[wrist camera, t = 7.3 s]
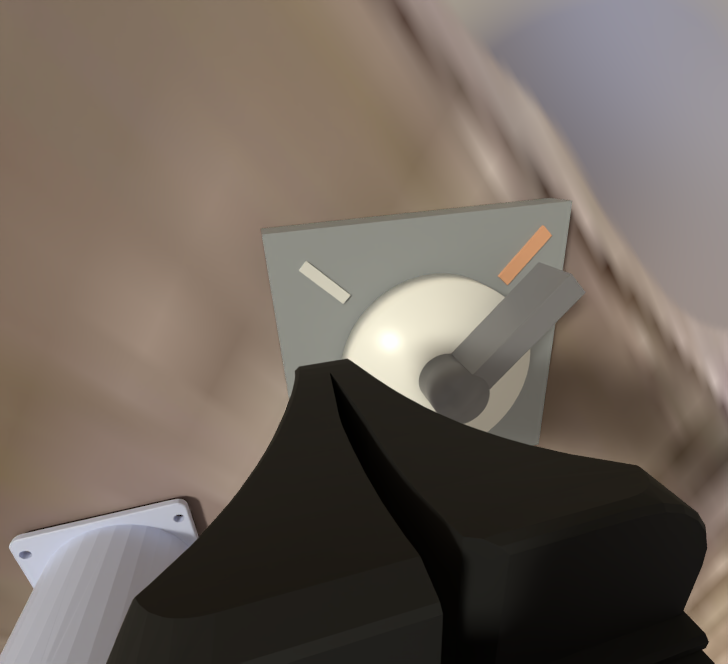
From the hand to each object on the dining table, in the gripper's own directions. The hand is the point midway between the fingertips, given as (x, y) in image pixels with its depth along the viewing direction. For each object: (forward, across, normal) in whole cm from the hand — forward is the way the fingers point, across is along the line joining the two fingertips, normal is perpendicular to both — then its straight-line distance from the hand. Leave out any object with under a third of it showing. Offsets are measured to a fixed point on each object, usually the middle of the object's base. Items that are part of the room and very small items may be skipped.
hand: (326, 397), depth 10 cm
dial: (+8, -6, +4) cm, 11 cm away
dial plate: (+9, -6, +4) cm, 12 cm away
